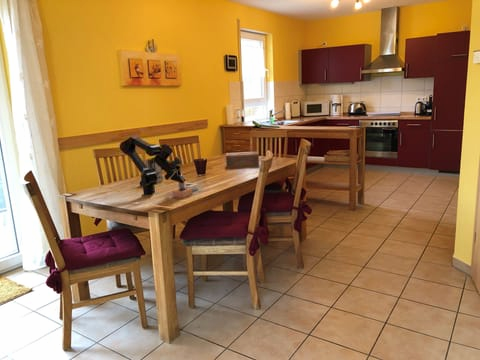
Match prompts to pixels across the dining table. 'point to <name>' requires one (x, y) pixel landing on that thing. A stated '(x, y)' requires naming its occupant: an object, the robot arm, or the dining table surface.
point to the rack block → (182, 192)
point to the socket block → (191, 186)
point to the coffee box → (155, 169)
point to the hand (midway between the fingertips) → (184, 181)
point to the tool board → (187, 196)
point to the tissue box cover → (242, 159)
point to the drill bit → (181, 185)
